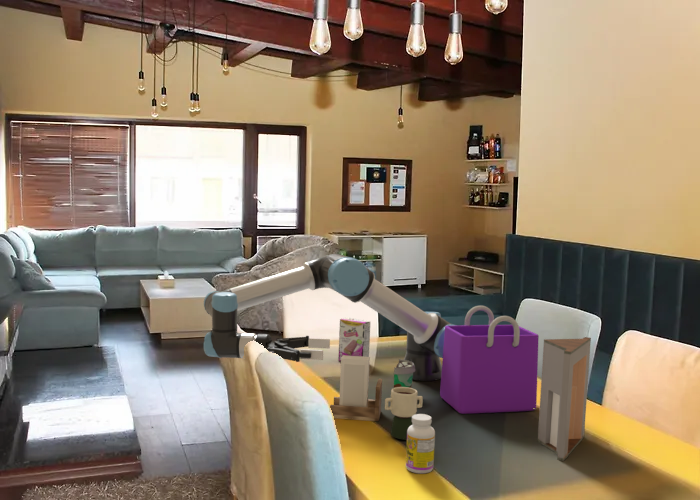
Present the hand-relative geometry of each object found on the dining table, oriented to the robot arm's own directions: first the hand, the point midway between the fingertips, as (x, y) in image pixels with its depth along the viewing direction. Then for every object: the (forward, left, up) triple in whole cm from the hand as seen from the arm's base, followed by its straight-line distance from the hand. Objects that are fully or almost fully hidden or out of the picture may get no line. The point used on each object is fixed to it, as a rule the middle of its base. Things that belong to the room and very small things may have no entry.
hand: (326, 349), depth 207 cm
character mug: (-24, +18, -19) cm, 35 cm away
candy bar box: (-2, -58, -19) cm, 61 cm away
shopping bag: (-49, -17, -19) cm, 55 cm away
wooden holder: (-9, +2, -18) cm, 21 cm away
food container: (-23, -22, -19) cm, 37 cm away
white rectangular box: (-9, +2, -17) cm, 20 cm away
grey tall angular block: (-65, +14, -19) cm, 69 cm away
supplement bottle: (-29, +38, -19) cm, 51 cm away
